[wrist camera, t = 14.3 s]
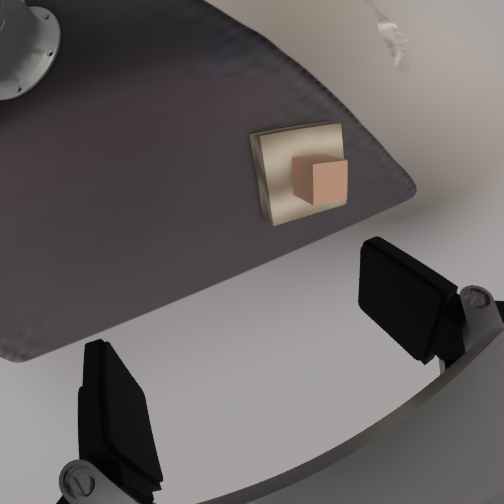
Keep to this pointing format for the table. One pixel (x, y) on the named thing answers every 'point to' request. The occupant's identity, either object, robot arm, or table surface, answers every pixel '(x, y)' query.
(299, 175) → the terracotta cube
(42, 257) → the table surface
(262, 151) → the birch block
